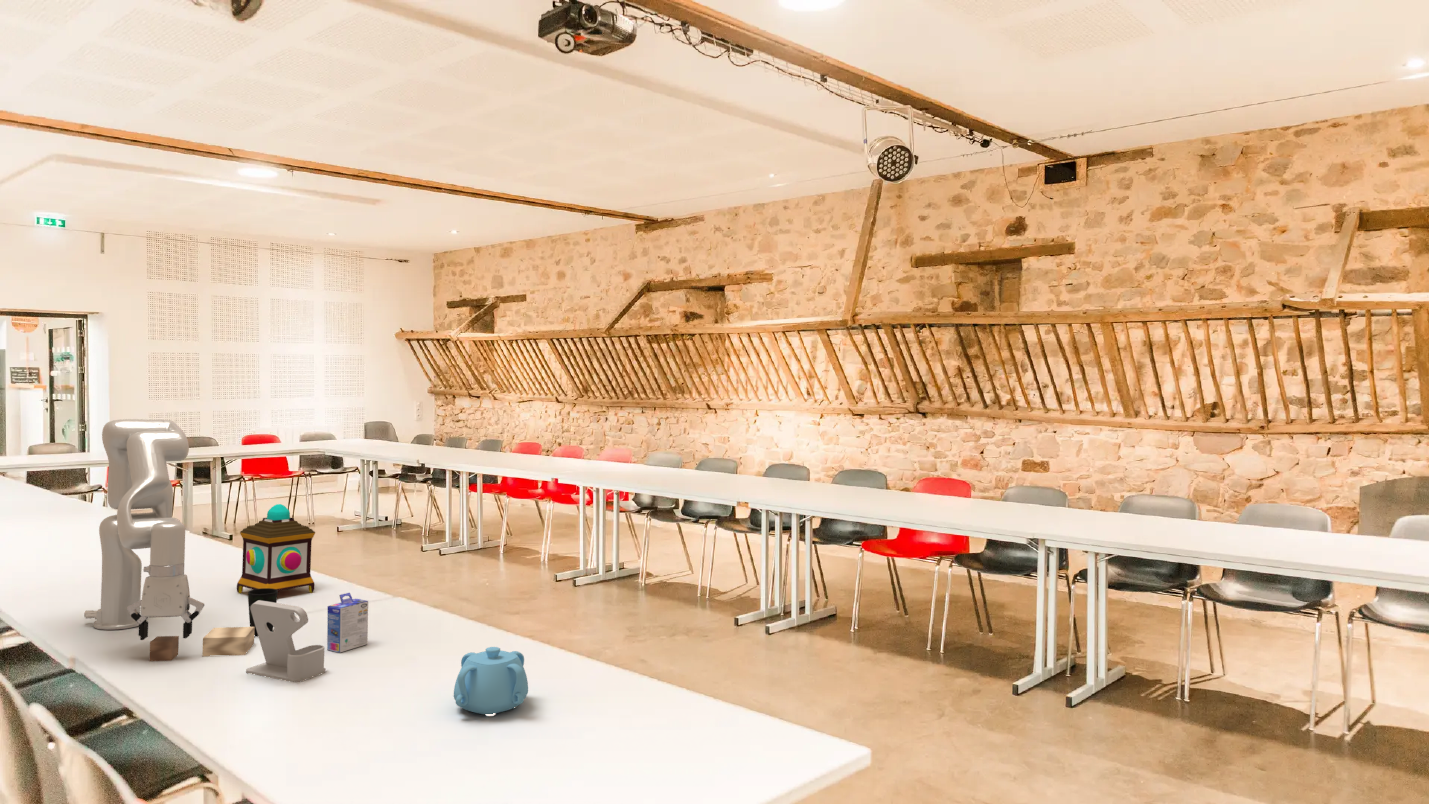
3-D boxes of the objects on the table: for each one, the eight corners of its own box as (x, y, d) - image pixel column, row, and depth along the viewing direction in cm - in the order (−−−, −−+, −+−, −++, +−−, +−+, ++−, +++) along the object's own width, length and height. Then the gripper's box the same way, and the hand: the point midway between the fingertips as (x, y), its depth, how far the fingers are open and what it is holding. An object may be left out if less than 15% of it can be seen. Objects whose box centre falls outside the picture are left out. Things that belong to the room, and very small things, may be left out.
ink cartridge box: (353, 641, 249) (355, 589, 248) (368, 644, 246) (370, 592, 246) (324, 650, 240) (326, 596, 240) (340, 653, 237) (341, 599, 237)
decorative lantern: (320, 592, 302) (323, 504, 302) (264, 603, 286) (267, 509, 285) (286, 583, 313) (289, 498, 313) (229, 593, 296) (233, 503, 296)
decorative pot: (522, 721, 196) (525, 659, 195) (447, 720, 194) (450, 658, 194) (530, 695, 212) (532, 638, 212) (460, 695, 210) (463, 637, 210)
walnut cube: (149, 661, 225) (150, 641, 225) (156, 655, 230) (157, 636, 229) (171, 661, 226) (172, 641, 226) (178, 655, 231) (178, 635, 231)
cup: (263, 638, 248) (265, 595, 248) (239, 635, 249) (241, 593, 249) (282, 631, 255) (284, 589, 255) (259, 628, 257) (260, 587, 257)
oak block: (202, 657, 230) (202, 638, 230) (213, 646, 240) (213, 627, 240) (244, 655, 233) (245, 636, 233) (253, 645, 243) (254, 626, 243)
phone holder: (329, 671, 223) (331, 599, 222) (297, 683, 213) (300, 608, 213) (275, 661, 229) (278, 591, 228) (242, 672, 219) (245, 600, 219)
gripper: (122, 574, 222) (121, 643, 221) (200, 572, 226) (198, 640, 226) (134, 568, 229) (132, 635, 229) (209, 567, 233) (207, 632, 233)
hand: (165, 637), depth 227 cm, fingers open, 9 cm apart
